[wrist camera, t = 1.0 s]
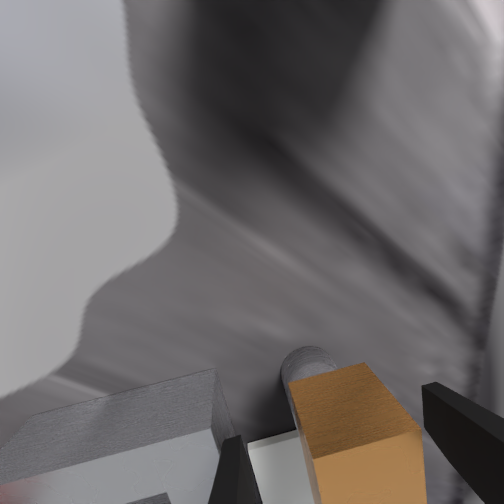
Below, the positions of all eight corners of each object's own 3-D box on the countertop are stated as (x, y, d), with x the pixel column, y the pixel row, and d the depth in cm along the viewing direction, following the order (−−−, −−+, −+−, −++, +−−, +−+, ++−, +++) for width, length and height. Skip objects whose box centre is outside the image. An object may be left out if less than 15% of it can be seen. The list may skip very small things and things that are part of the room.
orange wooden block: (340, 406, 13) (432, 576, 7) (290, 420, 13) (343, 604, 7) (324, 316, 12) (421, 429, 6) (270, 329, 12) (313, 459, 6)
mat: (384, 522, 15) (388, 531, 15) (278, 554, 15) (280, 563, 14) (369, 409, 13) (373, 416, 13) (247, 443, 13) (248, 451, 12)
